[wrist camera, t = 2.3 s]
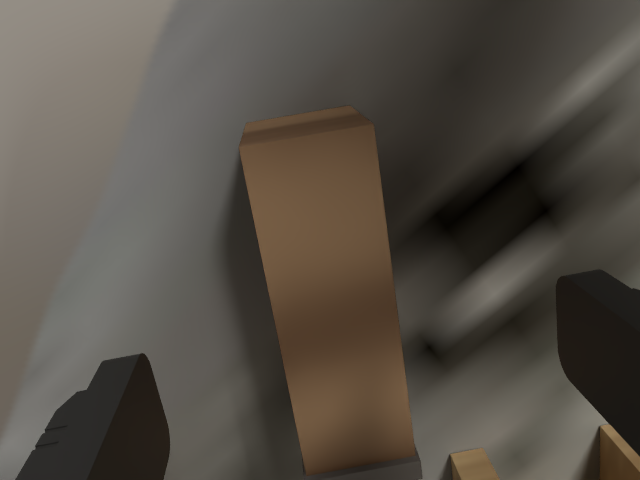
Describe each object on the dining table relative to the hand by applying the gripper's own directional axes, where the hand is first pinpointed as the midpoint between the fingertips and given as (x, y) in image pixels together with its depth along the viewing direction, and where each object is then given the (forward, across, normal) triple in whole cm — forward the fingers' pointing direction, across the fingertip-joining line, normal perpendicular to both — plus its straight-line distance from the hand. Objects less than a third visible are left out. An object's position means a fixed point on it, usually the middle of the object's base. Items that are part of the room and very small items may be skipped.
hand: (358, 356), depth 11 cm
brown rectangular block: (+13, 0, +3) cm, 13 cm away
